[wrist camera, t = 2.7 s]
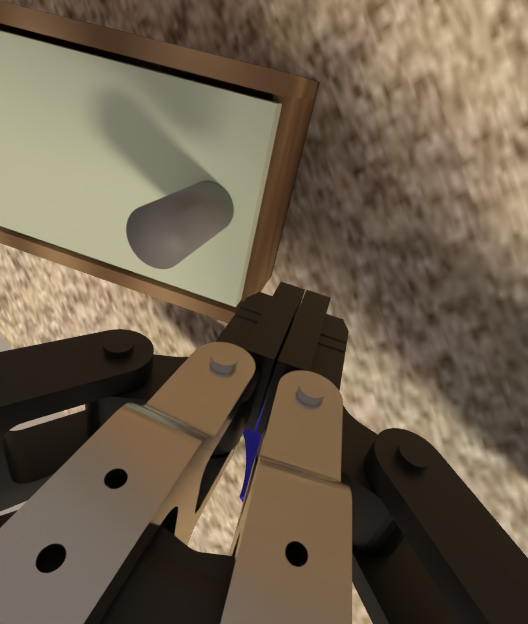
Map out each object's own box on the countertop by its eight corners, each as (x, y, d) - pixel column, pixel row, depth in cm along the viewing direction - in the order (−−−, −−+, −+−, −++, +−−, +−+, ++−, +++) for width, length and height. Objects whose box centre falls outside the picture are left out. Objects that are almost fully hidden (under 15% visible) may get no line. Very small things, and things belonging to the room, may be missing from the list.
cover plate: (282, 103, 16) (233, 103, 11) (241, 299, 21) (195, 360, 16) (-24, 23, 18) (-182, -8, 13) (7, 220, 23) (-97, 251, 18)
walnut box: (319, 82, 20) (290, 73, 14) (271, 276, 27) (236, 326, 21) (64, 18, 23) (-56, -13, 16) (75, 211, 29) (-8, 240, 23)
